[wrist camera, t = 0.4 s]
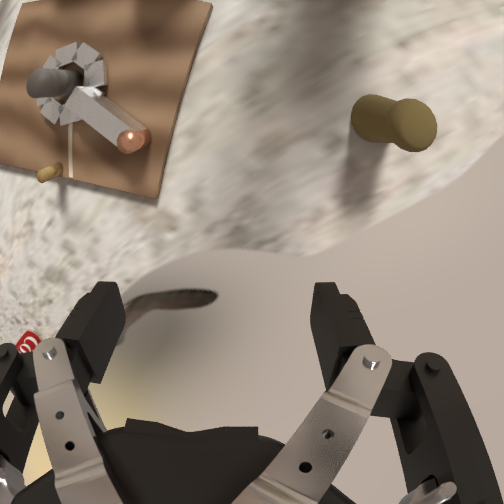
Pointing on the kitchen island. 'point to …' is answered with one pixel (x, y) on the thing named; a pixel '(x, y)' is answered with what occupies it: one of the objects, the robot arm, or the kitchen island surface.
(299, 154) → the kitchen island surface
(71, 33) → the board
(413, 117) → the cork
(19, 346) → the soda can
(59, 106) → the segmented ring with handle
